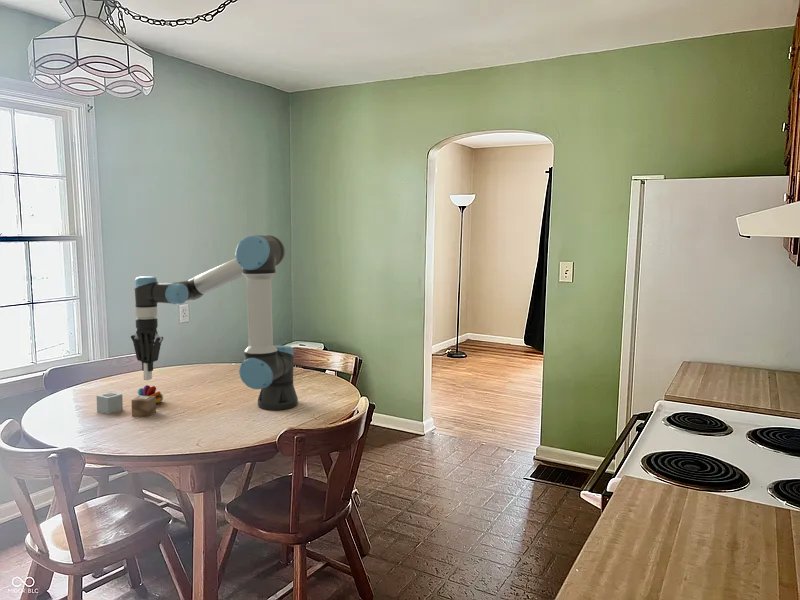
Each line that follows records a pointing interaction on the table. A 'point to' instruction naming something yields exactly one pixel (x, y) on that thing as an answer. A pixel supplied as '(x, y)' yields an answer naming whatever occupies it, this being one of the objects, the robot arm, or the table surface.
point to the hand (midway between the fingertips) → (147, 379)
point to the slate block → (109, 403)
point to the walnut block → (143, 406)
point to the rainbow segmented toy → (150, 393)
